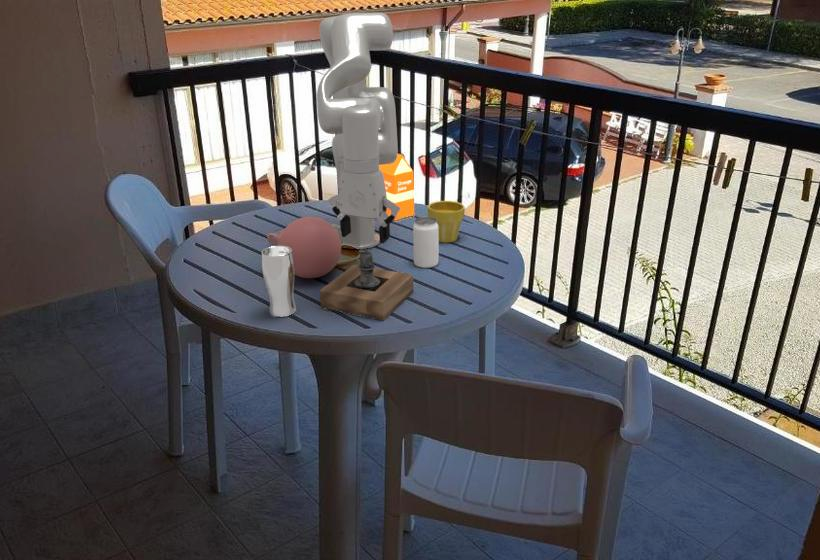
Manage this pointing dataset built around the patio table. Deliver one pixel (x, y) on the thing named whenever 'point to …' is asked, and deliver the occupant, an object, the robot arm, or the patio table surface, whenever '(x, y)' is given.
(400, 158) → the orange juice
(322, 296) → the socket block
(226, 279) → the patio table surface
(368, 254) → the grey chess piece
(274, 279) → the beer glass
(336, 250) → the pink party balloon
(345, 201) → the robot arm
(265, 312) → the patio table surface
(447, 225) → the plant pot
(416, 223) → the can
